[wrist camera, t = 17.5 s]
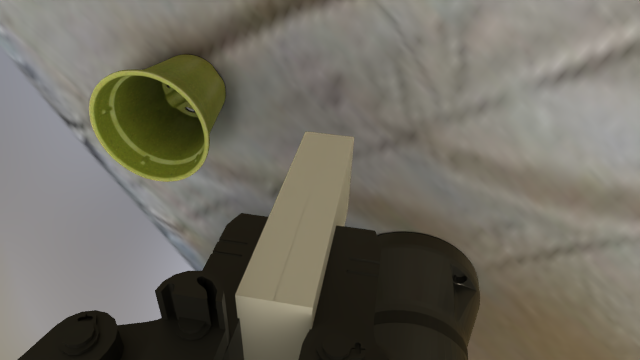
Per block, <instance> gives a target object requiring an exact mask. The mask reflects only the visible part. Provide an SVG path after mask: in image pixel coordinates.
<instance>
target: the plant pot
mask: <svg viewBox="0 0 640 360" xmlns="http://www.w3.org/2000/svg"><path fill="white" fill-rule="evenodd" d="M167 85H168V86H170V88H168V87H167ZM225 94H226V92H225V85H224V82H223V80H222V78H221V77H220V76H219V75H218V73H217V72H216V70H215V69H214V68H213V66H212V65H211V64H210V63H209V62H207V61H206V60H204V59H202V58H200V57H197V56H194V55H178V56H175V57H172V58H170V59H168V60H166V61H163V62H161V63H159V64H156V65H154V66H152V67H149V68H147V69H144V70H122V71H118V72H115V73H112V74H110V75H108V76H107V77H105V78H104V79H102V80H101V81H100V82H99V83H98V84H97V86H96V87H95V88H94V90H93V93H92V95H91V99H90V104H89V114H90V121H91V124H92V128H93V130H94V132H95V134H96V136H97V138H98V140H99V142H100V143H101V145H102V146H103V147H104V149H105V150H106V151H107V152H108V153H109V155H110V156H111V157H112V158H113V159H114V160H116V161H117V162H118V163H119V164H121V165H122V166H123V167H125V168H126V169H128V170H129V171H131V172H133V173H135V174H137V175H139V176H141V177H144V178H147V179H151V180H156V181H163V182H168V181H178V180H182V179H185V178H187V177H189V176H191V175H193V174H194V173H195V172H197V171H198V170H199V168H200V167H201V166H202V165H203V163H204V161H205V159H206V157H207V155H208V151H209V143H210V138H209V134H210V131H211V129H212V127H213V125H214V123H215V121H216V119H217V117H218V115H219V112H220V110H221V108H222V106H223V104H224V101H225ZM185 107H189V108H191V109H194V111H195V112H190V111H188V110H187V109H185Z"/></svg>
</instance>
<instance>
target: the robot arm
mask: <svg viewBox="0 0 640 360" xmlns="http://www.w3.org/2000/svg"><path fill="white" fill-rule="evenodd" d="M353 145H354V137H348V136H340V135H331V134H322V133H314V132H305V134H304V136H303V139H302V141H301V143H300V146H299V148H298V150H297V153H296V155H295V157H294V160H293V162H292V164H291V166H290V169H289V171H288V173H287V176H286V178H285V180H284V183H283V185H282V187H281V190H280V192H279V194H278V197H277V199H276V201H275V204H274V206H273V208H272V211H271V213H270V215H269V217H265V216H258V215H251V214H244V213H241V214H240V215H238V216H237V217H236V218H235V219H233V220H232V221H231V222H230V223H228V224H227V226H226V228H225V229H224V231H223V233H222V235H221V237H220V239H219V242H217V244H216V246H215V248H214V250H213V254H211V255H210V257H209V259H208V261H207V263H206V265H205V267H204V268H203V270H202V271H186V272H182V273H179V274H176V275H174V276H172V277H170V278H168V279H167V280H165V281H164V282H162V284H161V285H160V286H159V287H158V288H157V289H156V290H155V293H156V297H157V301H158V304H159V308H160V312H161V316H162V318H161V319H158V320H154V321H149V322H143V323H134V324H127V325H117V324H116V321H115V319H114V318H112V317H111V316H110V315H109V314H108V313H105V312H100V311H96V310H95V311H86V312H80V313H78V314H75V315H73V316H70V317H68V318H66V319H65V320H63V321H62V322H60V323H59V324H57V325H56V326H55V327H54V328H53V329H51V330H50V331H49V332H48V333H47V334H46V335H45V336H44V337H43V338H41V339H40V340H39V341H38V342H37V343H36V344H35V345H34V346H32V347H31V348H30V349H29V350H28V351H27V352H26V353H25V354H24V355H22V356H21V357H20V358H19V359H18V360H468V353H467V346H468V343H469V340H470V336H471V333H472V330H473V326H474V323H475V320H476V317H477V313H478V310H479V305H480V292H479V285H478V278H477V274H476V272H475V269H474V267H473V266H472V264H471V262H470V261H469V260H468V259H467V258H466V256H465V255H464V254H462V253H461V252H460V251H459V250H458V249H456V248H455V247H453V246H452V245H450V244H448V243H446V242H444V241H442V240H440V239H437V238H434V237H431V236H427V235H423V234H417V233H406V232H399V233H388V234H383V235H379V236H377V234H376V232H375V231H372V230H365V229H358V228H351V227H344V225H345V221H346V216H347V211H348V204H349V192H350V180H351V168H352V157H353Z"/></svg>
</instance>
